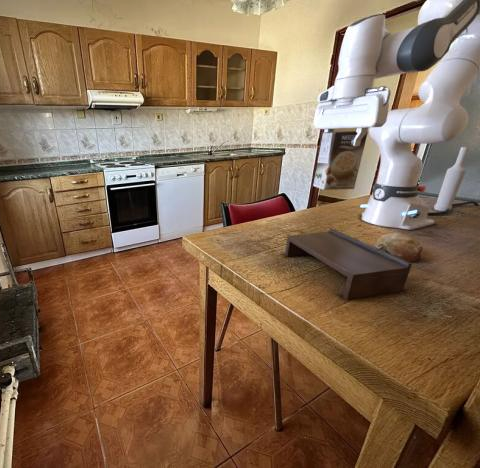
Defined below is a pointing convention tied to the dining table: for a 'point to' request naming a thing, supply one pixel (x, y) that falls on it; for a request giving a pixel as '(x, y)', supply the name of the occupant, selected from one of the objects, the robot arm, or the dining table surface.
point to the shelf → (353, 262)
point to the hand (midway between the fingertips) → (341, 145)
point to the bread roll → (400, 246)
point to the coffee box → (338, 161)
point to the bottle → (451, 183)
